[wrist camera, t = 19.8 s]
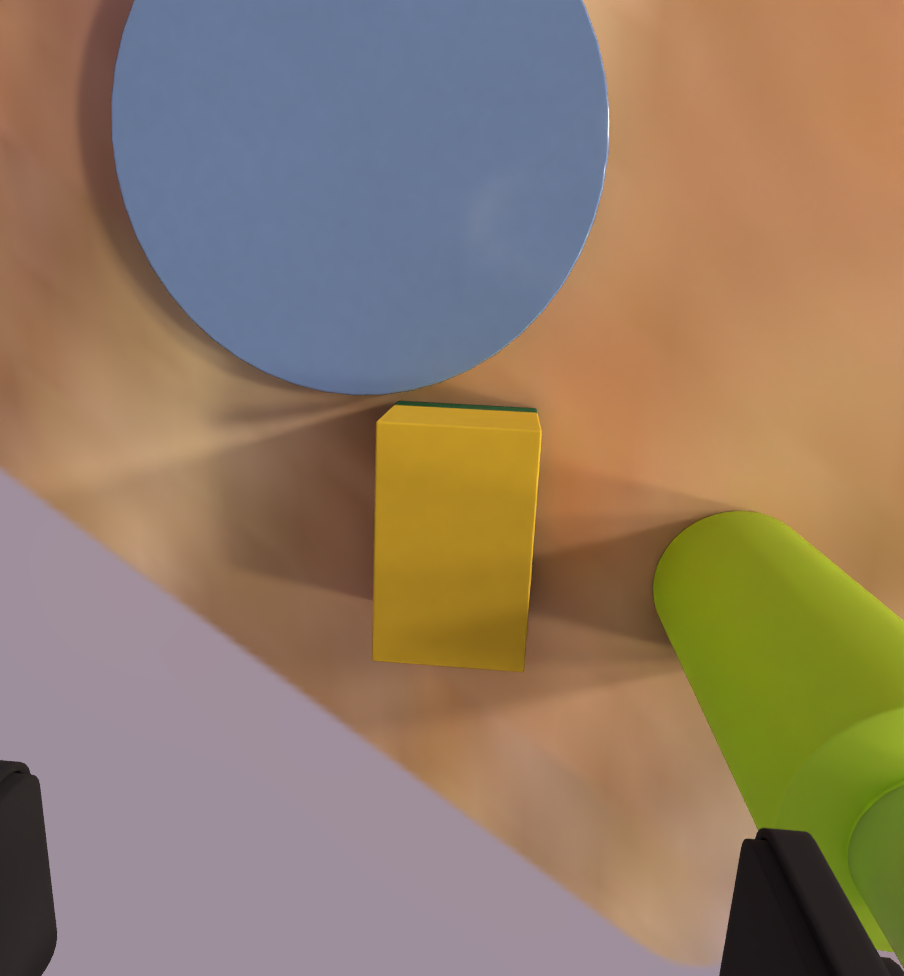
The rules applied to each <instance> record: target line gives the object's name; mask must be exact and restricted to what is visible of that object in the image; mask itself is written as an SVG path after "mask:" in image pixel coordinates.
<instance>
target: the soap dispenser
mask: <svg viewBox="0 0 904 976" xmlns="http://www.w3.org/2000/svg"><path fill="white" fill-rule="evenodd" d="M653 597H654V603H655V607H656V611H657V614H658V616H659V618H660V620H661V623H662V625H663V627H664V629H665V631H666V633H667V636H668V638H669V640H670V642H671V644H672V646H673V648H674V651H675V653H676V655H677V657H678V659H679V661H680V663H681V666H682V668H683V670H684V672H685V674H686V676H687V678H688V681H689V683H690V685H691V687H692V689H693V691H694V693H695V696H696V698H697V700H698V702H699V704H700V706H701V709H702V711H703V713H704V715H705V717H706V719H707V721H708V724H709V726H710V728H711V730H712V732H713V734H714V736H715V739H716V741H717V743H718V745H719V747H720V749H721V751H722V754H723V756H724V758H725V760H726V762H727V764H728V767H729V769H730V771H731V773H732V775H733V777H734V779H735V782H736V784H737V786H738V788H739V790H740V792H741V794H742V797H743V799H744V801H745V803H746V805H747V807H748V809H749V812H750V814H751V816H752V818H753V820H754V822H755V824H756V827H757V829H758V831H759V829H761V828H771V829H783V830H794V831H805V832H808V833H809V834H811V835H812V837H813V838H814V839H815V841H816V843H817V845H818V846H819V848H820V850H821V852H822V854H823V855H824V857H825V859H826V861H827V863H828V864H829V866H830V868H831V870H832V871H833V873H834V875H835V877H836V879H837V880H838V882H839V884H840V886H841V888H842V889H843V891H844V893H845V895H846V896H847V898H848V900H849V902H850V904H851V905H852V907H853V909H854V911H855V913H856V914H857V916H858V918H859V920H860V922H861V923H862V925H863V927H864V929H865V930H866V932H867V934H868V936H869V938H870V939H871V941H872V943H873V945H874V947H875V948H876V949H877V950H882V951H888V952H894V953H895V954H896V956H897V957H898V959H899V961H900V963H901V965H902V966H903V968H904V621H903V620H902V619H901V618H900V617H898V616H897V615H896V614H895V613H894V612H892V611H891V610H890V609H889V608H887V607H886V606H885V605H884V604H883V603H881V602H880V601H879V600H878V599H877V598H875V597H874V596H873V595H872V594H870V593H869V592H868V591H867V590H866V589H864V588H863V587H862V586H861V585H860V584H858V583H857V582H856V581H855V580H853V579H852V578H851V577H850V576H849V575H847V574H846V573H845V572H844V571H842V570H841V569H840V568H839V567H838V566H836V565H835V564H834V563H833V562H832V561H830V560H829V559H828V558H827V557H825V556H824V555H823V554H822V553H821V552H819V551H818V550H817V549H816V548H815V547H813V546H812V545H811V544H810V543H808V542H807V541H806V540H805V539H804V538H802V537H801V536H800V535H799V534H797V533H796V532H795V531H794V530H793V529H791V528H790V527H789V526H787V525H786V524H784V523H783V522H781V521H779V520H777V519H775V518H773V517H770V516H767V515H764V514H761V513H756V512H749V511H731V512H724V513H719V514H715V515H712V516H709V517H706V518H704V519H701V520H699V521H697V522H695V523H694V524H692V525H690V526H689V527H687V528H686V529H685V530H683V531H682V532H681V533H680V534H679V535H678V536H677V537H676V538H675V539H674V540H673V541H672V542H671V543H670V544H669V546H668V547H667V548H666V550H665V551H664V553H663V555H662V557H661V559H660V561H659V563H658V566H657V568H656V572H655V576H654V583H653Z"/></svg>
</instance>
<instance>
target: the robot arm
mask: <svg viewBox="0 0 904 976" xmlns="http://www.w3.org/2000/svg"><path fill="white" fill-rule="evenodd" d="M56 941H57V928H56V920H55V912H54V903H53V894H52V885H51V876H50V868H49V859H48V850H47V843H46V833H45V825H44V816H43V808H42V799H41V790H40V783H39V780H38V778H37V777H36V776H35V775H31V774H30V771H29V768H28V767H27V765H26V764H24V763H22V762H14V761H3V760H0V976H41V975H42V974H43V972H44V971H45V969H46V968H47V966H48V964H49V963H50V960H51V958H52V956H53V953H54V950H55V947H56ZM719 976H904V971H903V970H902V969H901V967H900V966H899V965H898V964H897V963H896V962H894V961H893V960H892V959H890V958H885V957H880V956H879V954H878V952H877V950H876V948H875V947H874V945H873V943H872V941H871V939H870V938H869V936H868V934H867V932H866V930H865V929H864V927H863V925H862V923H861V922H860V920H859V918H858V916H857V914H856V913H855V911H854V909H853V907H852V905H851V904H850V902H849V900H848V898H847V896H846V895H845V893H844V891H843V889H842V888H841V886H840V884H839V882H838V880H837V879H836V877H835V875H834V873H833V871H832V870H831V868H830V866H829V864H828V863H827V861H826V859H825V857H824V855H823V854H822V852H821V850H820V848H819V846H818V845H817V843H816V841H815V839H814V838H813V837H812V835H811V834H809V833H808V832H805V831H794V830H783V829H771V828H761V829H759V831H758V832H757V835H756V838H755V839H745V840H744V841H743V843H742V847H741V852H740V858H739V863H738V869H737V875H736V881H735V887H734V893H733V899H732V904H731V910H730V916H729V922H728V928H727V934H726V940H725V945H724V951H723V957H722V963H721V969H720V975H719Z"/></svg>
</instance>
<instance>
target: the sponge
mask: <svg viewBox="0 0 904 976" xmlns="http://www.w3.org/2000/svg"><path fill="white" fill-rule="evenodd" d="M541 437H542V431H541V427H540V422H539V418H538V413H537V409H536V408H521V407H502V406H483V405H465V404H446V403H427V402H409V401H398V402H397V403H396V404H395V405H394V406H393V407H392V408H390V409H389V410H388V411H387V412H386V413H385V414H384V415H383V416H382V417H381V418H380V419H379V420H378V421H377V422H376V448H375V510H374V572H373V633H372V660H373V661H381V662H395V663H408V664H421V665H434V666H447V667H460V668H473V669H487V670H500V671H513V672H523V671H524V664H525V651H526V637H527V624H528V611H529V597H530V584H531V571H532V557H533V544H534V531H535V517H536V504H537V491H538V477H539V464H540V451H541Z"/></svg>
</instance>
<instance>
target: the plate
mask: <svg viewBox="0 0 904 976" xmlns="http://www.w3.org/2000/svg"><path fill="white" fill-rule="evenodd" d="M609 120H610V114H609V104H608V93H607V82H606V76H605V71H604V67H603V62H602V58H601V53H600V48H599V44H598V40H597V38H596V35H595V32H594V29H593V26H592V24H591V21H590V18H589V15H588V12H587V10H586V7H585V5H584V3H583V1H582V0H134V2H133V5H132V7H131V10H130V13H129V16H128V18H127V21H126V24H125V27H124V29H123V33H122V37H121V42H120V46H119V50H118V55H117V59H116V63H115V70H114V79H113V89H112V98H111V132H112V144H113V152H114V160H115V168H116V173H117V177H118V181H119V185H120V190H121V194H122V198H123V202H124V205H125V208H126V211H127V213H128V216H129V219H130V222H131V224H132V227H133V230H134V232H135V235H136V237H137V239H138V241H139V243H140V245H141V247H142V249H143V251H144V253H145V255H146V257H147V259H148V261H149V263H150V265H151V267H152V268H153V270H154V271H155V273H156V274H157V276H158V277H159V279H160V280H161V282H162V283H163V285H164V286H165V288H166V289H167V291H168V292H169V294H170V295H171V296H172V297H173V299H174V300H175V301H176V302H177V303H178V304H179V306H180V307H181V308H182V309H183V310H184V312H185V313H186V314H187V315H188V316H189V317H190V319H191V320H193V321H194V322H195V323H196V324H197V325H198V326H199V327H200V328H201V329H202V330H203V331H204V332H205V333H207V334H208V335H209V336H210V337H211V338H212V339H213V340H214V341H216V342H217V343H218V344H220V345H221V346H222V347H224V348H225V349H227V350H228V351H229V352H231V353H232V354H233V355H235V356H236V357H238V358H239V359H241V360H243V361H245V362H246V363H248V364H250V365H252V366H254V367H255V368H257V369H259V370H261V371H263V372H264V373H267V374H269V375H272V376H274V377H277V378H279V379H282V380H284V381H287V382H289V383H292V384H294V385H298V386H302V387H306V388H310V389H314V390H318V391H322V392H329V393H337V394H346V395H386V394H393V393H399V392H406V391H413V390H416V389H420V388H423V387H427V386H430V385H434V384H437V383H441V382H443V381H445V380H448V379H450V378H452V377H455V376H457V375H459V374H462V373H464V372H466V371H468V370H470V369H472V368H474V367H475V366H477V365H479V364H480V363H482V362H484V361H485V360H487V359H489V358H490V357H492V356H494V355H495V354H497V353H498V352H499V351H500V350H502V349H503V348H504V347H505V346H507V345H508V344H509V343H510V342H512V341H513V340H514V339H516V338H517V337H518V336H519V335H521V334H522V333H523V332H524V330H525V329H526V328H527V327H528V326H529V325H530V324H531V323H532V322H533V321H534V320H535V319H536V318H537V317H538V316H539V315H540V314H541V313H542V312H543V311H544V310H545V308H546V307H547V306H548V304H549V303H550V302H551V300H552V299H553V298H554V296H555V295H556V293H557V292H558V291H559V289H560V288H561V287H562V285H563V284H564V282H565V281H566V279H567V277H568V275H569V274H570V272H571V270H572V268H573V267H574V265H575V263H576V261H577V260H578V258H579V256H580V254H581V252H582V249H583V247H584V244H585V242H586V240H587V237H588V235H589V232H590V230H591V228H592V225H593V223H594V219H595V216H596V212H597V209H598V205H599V201H600V198H601V194H602V191H603V186H604V179H605V173H606V166H607V160H608V153H609Z"/></svg>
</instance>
